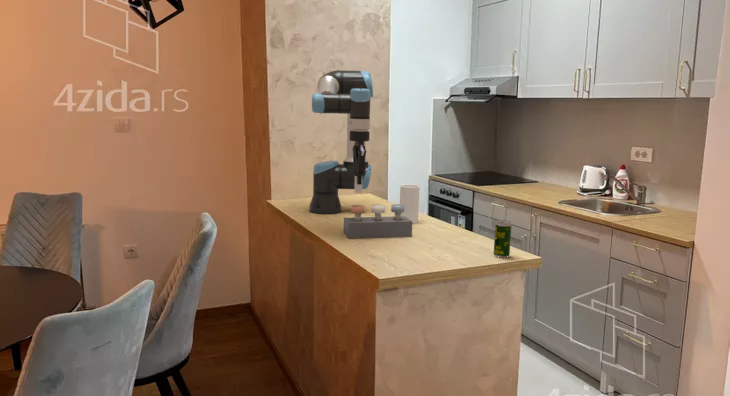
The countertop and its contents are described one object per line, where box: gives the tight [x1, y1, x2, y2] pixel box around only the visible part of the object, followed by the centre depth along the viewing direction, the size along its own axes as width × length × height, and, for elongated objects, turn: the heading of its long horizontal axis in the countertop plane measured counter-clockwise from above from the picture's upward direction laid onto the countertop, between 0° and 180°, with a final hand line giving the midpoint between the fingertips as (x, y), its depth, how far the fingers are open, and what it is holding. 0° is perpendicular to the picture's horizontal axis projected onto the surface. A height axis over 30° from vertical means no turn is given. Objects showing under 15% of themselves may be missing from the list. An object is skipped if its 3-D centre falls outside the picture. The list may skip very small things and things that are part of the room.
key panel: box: [343, 215, 413, 240], centre depth 218 cm, size 10×25×6 cm, turn 103°
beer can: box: [493, 219, 512, 258], centre depth 190 cm, size 5×5×12 cm
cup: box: [399, 183, 420, 225], centre depth 241 cm, size 8×8×16 cm
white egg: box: [370, 204, 386, 220], centre depth 217 cm, size 5×5×7 cm
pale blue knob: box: [390, 203, 405, 220], centre depth 219 cm, size 5×5×7 cm
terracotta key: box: [350, 204, 366, 221], centre depth 215 cm, size 5×5×7 cm
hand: (358, 192), depth 213 cm, fingers closed
